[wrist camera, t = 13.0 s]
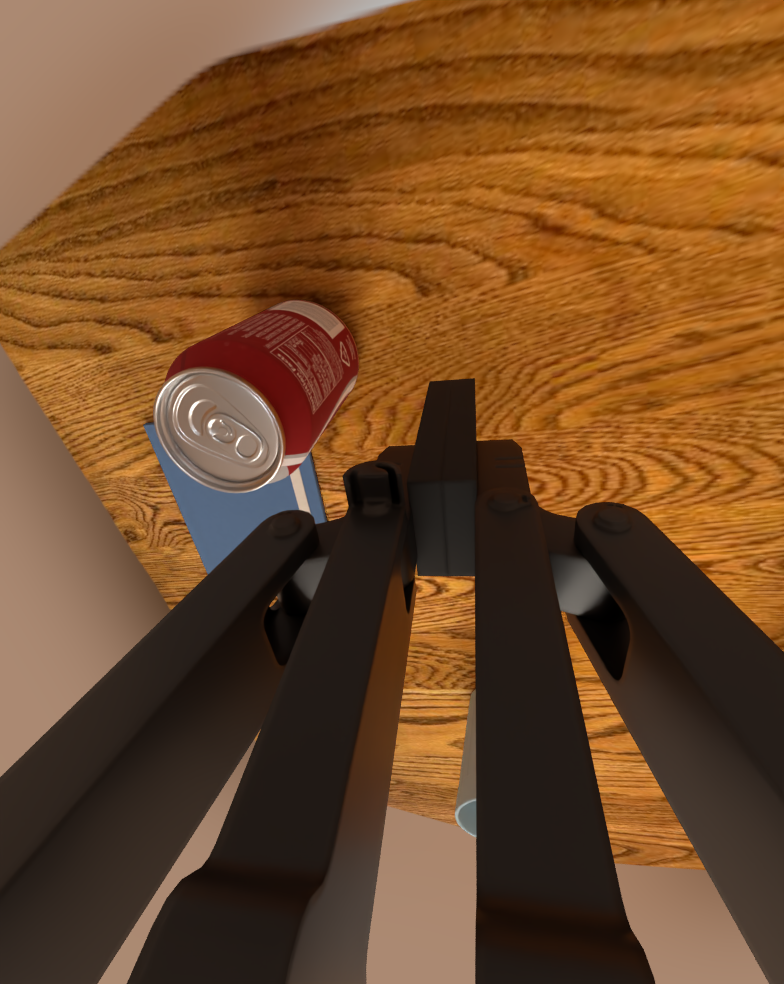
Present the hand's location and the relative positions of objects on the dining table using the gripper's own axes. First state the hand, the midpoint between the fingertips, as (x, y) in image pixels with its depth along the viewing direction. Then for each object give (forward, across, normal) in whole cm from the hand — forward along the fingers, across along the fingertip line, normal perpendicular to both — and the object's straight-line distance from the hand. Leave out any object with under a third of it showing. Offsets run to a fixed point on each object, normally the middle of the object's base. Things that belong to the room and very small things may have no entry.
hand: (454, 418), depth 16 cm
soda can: (+13, -10, -1) cm, 16 cm away
